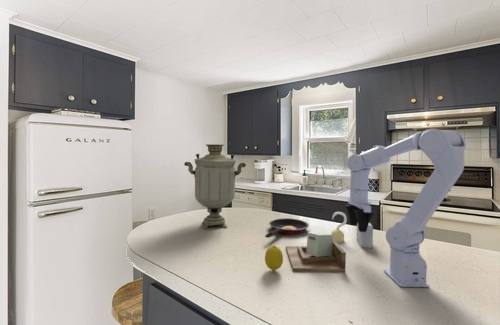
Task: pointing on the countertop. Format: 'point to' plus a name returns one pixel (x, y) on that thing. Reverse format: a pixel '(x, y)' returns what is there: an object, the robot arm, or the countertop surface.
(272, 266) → the lemon
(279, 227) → the frying pan
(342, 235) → the yellow stemmed oval
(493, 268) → the countertop surface
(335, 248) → the brown wooden stand
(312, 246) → the pale green block
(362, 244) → the medicine box
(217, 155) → the samovar
